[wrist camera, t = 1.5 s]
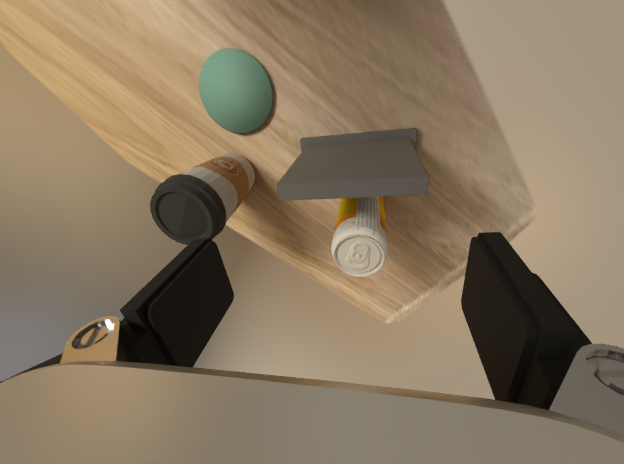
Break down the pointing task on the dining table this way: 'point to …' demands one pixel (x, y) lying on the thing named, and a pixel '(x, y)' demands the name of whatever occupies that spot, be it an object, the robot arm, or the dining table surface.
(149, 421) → the robot arm
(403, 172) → the screen
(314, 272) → the dining table surface
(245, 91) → the coaster
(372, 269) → the beer can
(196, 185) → the coffee cup
